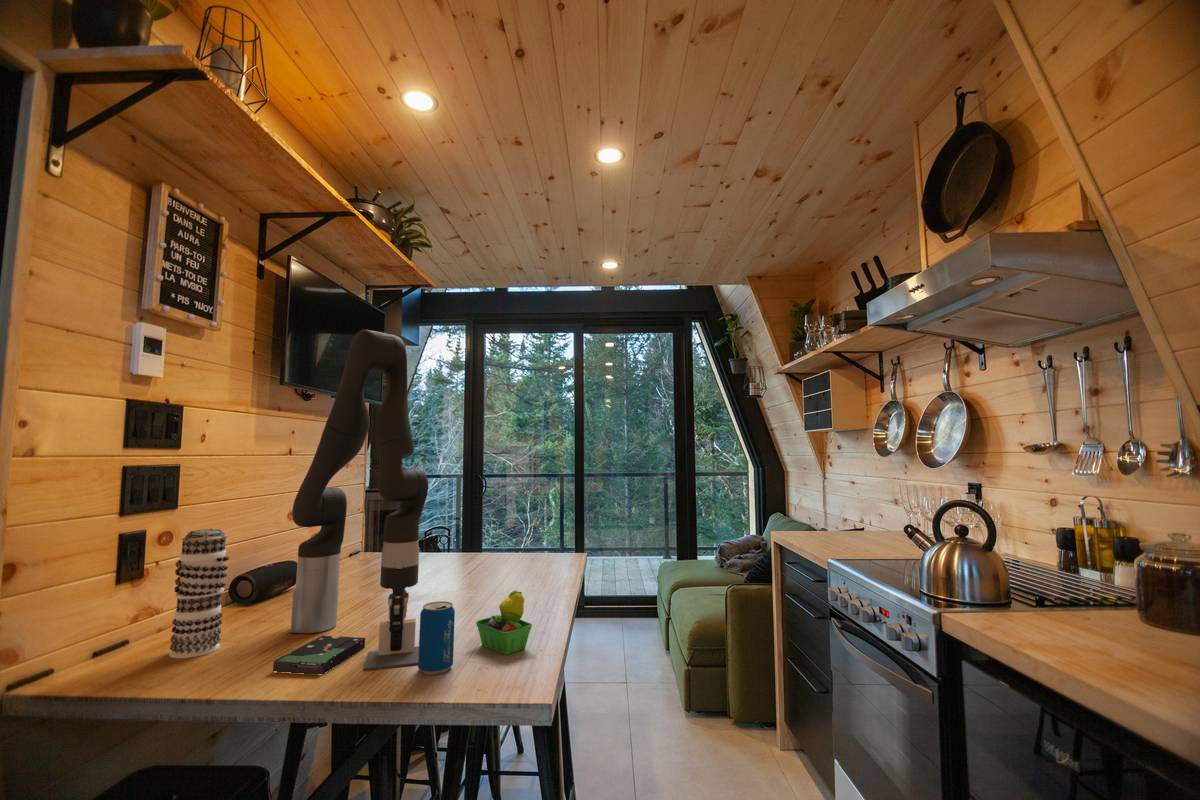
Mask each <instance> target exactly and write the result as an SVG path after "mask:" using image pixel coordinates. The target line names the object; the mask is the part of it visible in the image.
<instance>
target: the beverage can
mask: <svg viewBox="0 0 1200 800" xmlns="http://www.w3.org/2000/svg"><path fill="white" fill-rule="evenodd" d="M453 606H454V604H453V602H450V601H445V600H444V601H443V600H442V601H441V600H440V601H432V602H427V603H426V604H423V606H422V610H421V611H420V613H419V614H420V615H419V616H420V617H419V635H418V636H419V638H418V640H419V641H418V647H419V659H418V665H417V666H418V669H419V670H420V671H421V672H422V673H423V674H425V675H430V676H431V675H439V674H443V673H445V672H447V671H448V670H449V669H450V668H451V667H452V666H453V665H454V649H455V648H454V647H455V646H454V644H455V643H454V642H455V618H456V617H455V615H456V614H455V613H456V610H455V608H454V607H453Z"/></svg>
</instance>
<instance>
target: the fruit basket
mask: <svg viewBox="0 0 1200 800" xmlns="http://www.w3.org/2000/svg"><path fill="white" fill-rule="evenodd" d="M522 593H523V592H522V591H518V590H512V591H511V592H510V593H509V595H508V596H507V598H505V599H504V600H502V601H501V602H500V604H499V605H498V608H499V612H500V615H498V614H496V615H494V614H493V615H492V616H490V617H487V618H483V619H478V620H477V621H475V624H476V628H477V631H478V634H479V638H480V642H481V645H482V646H483V645H484V646H483V647H485V646H487V647H486V648H488V649H490V648H491V649H490V650H493V649H494V650H493V651H495V650H496V651H495V652H497V651H498V653H500V652H501V654H502V653H503V654H502V655H505V656H508V654H509V655H511V654H514V653H513V652H515V653H517V652H520V651H522V649H523V650H525V649H526V646H527V643H528V639H529V636H530V632H531V630H532V626H533V623H532V622H531V623H530V622H528V621H526V620H522V618H523V615H524V610H525V609H524V607H525V606H524V604H525V598H524V596H523V594H522ZM519 650H520V651H519ZM516 651H517V652H516ZM510 653H511V654H510Z"/></svg>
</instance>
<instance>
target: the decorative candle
mask: <svg viewBox="0 0 1200 800" xmlns="http://www.w3.org/2000/svg"><path fill="white" fill-rule="evenodd" d="M227 538H228V535H227V534H225V533H224V531H223V530H222V529H220V528H205V529H204V528H203V529H202V528H201V529H194V530H190V531H189V532H188V533H187V534H186V536H185V537H182V538H181V540H182V541H181V542H182V543H181V552H180V554H179V559H178V560H177V561H176V562H175V566H176V567H175V568H177V569H175V571H174V573H175V575H176V576H178V577H177V578H176V579H175V581H174V584H175V585H176V586H175V587H174V592H175V595H174V598H175V599H177V601H176V609H175V611H174V618H173V620H172V625H173V627H172V628H171V633H174V634H173V635H171V636H170V639H169V640H170V642H171V643H170V646H169V650H170V652H169V655H168V656H169V657H170V658H173V659H190V658H196V657H200V656H204V655H205V656H206V655H208V654H211V653H214V652H215V651H217V650H219V649H220V647H221V646H220V643H219V642H220V641H221V639H222V638H221V636H220V634H221V633H222V628H221V627H220V626H221V625H222V620H221V618H222V617H223V613H222V603H221V601H222V593H224V592H225V588H224V587H225V586H226V583H225V582H223V579H224V578H226V577H227V576H228V574H227V573H225V571H226V570H228V566H227V565H225V564H224V563H225V562H226V561H228V560H229V559H230V557H229V556H228V555H226V553H227V549H226V540H227Z"/></svg>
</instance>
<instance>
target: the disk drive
mask: <svg viewBox="0 0 1200 800" xmlns="http://www.w3.org/2000/svg"><path fill="white" fill-rule="evenodd" d="M365 646H366V637H361V636H360V637H354V636H339V637H335V638H334V637H332V635H321V636H319V637H317V638H315V639H314V640H311V641H309V642H308V643H305V644H304V645H301V646H299V647H297V648H296V649H294V650H292V651H290V652H289V653H286V654H284V655H282V656H280V657H278V658H277V659H275V660H273V665H272V666H273V667H272V672H273V671H277V672H291V673H304V674H323V675H325V674H326V673H325V672H327V671H328V672H330V671H331V670H332V668H333V667H334V668H336V667H337V666H339V665H340V663H341V662H342V663H344V662H345V661H347V660H348V659H350V658H351V657H353V656H354V655H355V653H356V654H357V652H358V653H359V652H361V651H362V650H363V648H364V649H365ZM360 650H361V651H360ZM352 655H353V656H352ZM349 657H350V658H349ZM346 659H347V660H346ZM343 661H344V662H343ZM342 663H341V664H342ZM338 664H339V665H338ZM336 665H337V666H336ZM335 666H336V667H335ZM334 668H333V669H334ZM330 669H331V670H330ZM329 670H330V671H329ZM328 672H327V673H328ZM324 673H325V674H324Z"/></svg>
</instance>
